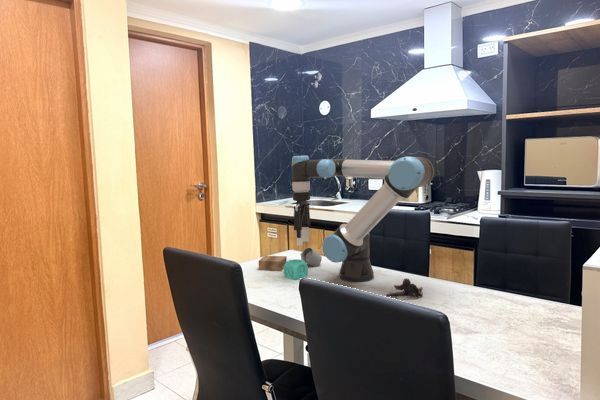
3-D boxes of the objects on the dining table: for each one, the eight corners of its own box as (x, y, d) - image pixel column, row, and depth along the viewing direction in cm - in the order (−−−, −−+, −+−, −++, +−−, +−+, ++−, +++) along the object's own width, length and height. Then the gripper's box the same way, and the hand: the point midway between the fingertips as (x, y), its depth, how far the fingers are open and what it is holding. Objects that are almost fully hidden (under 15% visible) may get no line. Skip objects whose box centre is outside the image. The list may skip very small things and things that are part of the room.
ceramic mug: (316, 270, 211) (325, 258, 210) (305, 264, 206) (314, 252, 205) (306, 259, 219) (315, 247, 219) (295, 253, 214) (305, 241, 214)
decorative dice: (296, 275, 197) (295, 258, 196) (308, 278, 191) (308, 261, 190) (283, 279, 191) (282, 261, 191) (295, 282, 186) (295, 264, 185)
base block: (286, 268, 212) (286, 256, 211) (281, 274, 201) (280, 261, 201) (265, 267, 214) (265, 255, 214) (258, 273, 203) (258, 260, 203)
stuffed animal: (430, 289, 164) (415, 278, 157) (422, 313, 162) (407, 303, 154) (405, 283, 173) (389, 272, 166) (397, 306, 170) (381, 295, 163)
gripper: (301, 189, 197) (302, 238, 199) (284, 193, 178) (286, 247, 180) (316, 189, 194) (318, 239, 196) (301, 193, 175) (303, 248, 177)
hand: (302, 243), depth 188 cm, fingers open, 7 cm apart
